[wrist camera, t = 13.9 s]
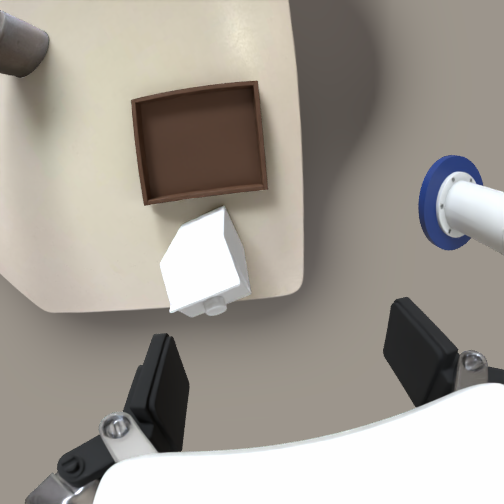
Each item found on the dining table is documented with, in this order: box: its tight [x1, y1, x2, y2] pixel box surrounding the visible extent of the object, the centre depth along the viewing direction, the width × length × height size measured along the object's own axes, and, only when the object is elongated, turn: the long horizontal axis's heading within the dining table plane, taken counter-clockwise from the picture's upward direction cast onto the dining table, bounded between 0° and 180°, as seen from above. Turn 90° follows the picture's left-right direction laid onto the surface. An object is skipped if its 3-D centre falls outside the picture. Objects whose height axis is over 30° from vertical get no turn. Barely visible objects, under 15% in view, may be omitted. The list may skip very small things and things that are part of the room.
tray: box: [131, 81, 268, 206], centre depth 36 cm, size 17×15×3 cm
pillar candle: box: [0, 10, 49, 78], centre depth 20 cm, size 10×10×15 cm
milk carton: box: [160, 206, 252, 317], centre depth 34 cm, size 7×7×19 cm
